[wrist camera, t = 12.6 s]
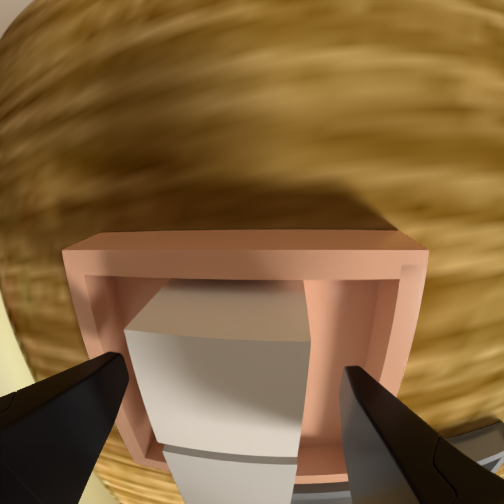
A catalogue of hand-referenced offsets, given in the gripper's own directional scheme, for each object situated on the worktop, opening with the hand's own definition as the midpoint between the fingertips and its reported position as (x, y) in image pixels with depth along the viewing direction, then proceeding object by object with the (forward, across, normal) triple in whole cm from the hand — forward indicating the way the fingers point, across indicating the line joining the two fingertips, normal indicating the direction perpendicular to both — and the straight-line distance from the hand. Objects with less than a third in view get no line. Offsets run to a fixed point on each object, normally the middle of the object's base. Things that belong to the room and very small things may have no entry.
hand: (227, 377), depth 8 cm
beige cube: (+3, 0, 0) cm, 3 cm away
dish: (+3, 0, +2) cm, 4 cm away
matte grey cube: (+3, 0, +4) cm, 5 cm away
